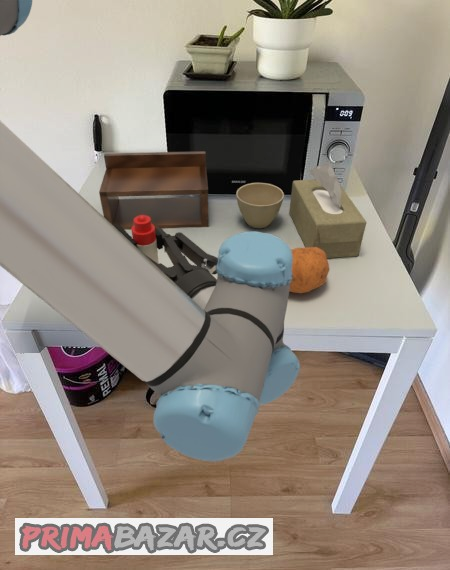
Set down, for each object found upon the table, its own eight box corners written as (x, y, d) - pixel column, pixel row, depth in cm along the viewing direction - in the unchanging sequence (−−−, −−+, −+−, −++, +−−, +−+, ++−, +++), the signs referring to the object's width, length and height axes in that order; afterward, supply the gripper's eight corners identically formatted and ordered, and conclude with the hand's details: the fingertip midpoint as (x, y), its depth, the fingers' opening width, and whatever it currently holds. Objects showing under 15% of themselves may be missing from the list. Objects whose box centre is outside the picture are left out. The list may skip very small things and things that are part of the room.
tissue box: (288, 212, 101) (296, 145, 91) (329, 209, 102) (341, 143, 92) (311, 260, 87) (323, 187, 77) (359, 257, 88) (377, 184, 78)
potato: (330, 303, 77) (337, 269, 73) (266, 301, 78) (269, 267, 73) (322, 270, 84) (328, 238, 80) (263, 269, 85) (266, 236, 80)
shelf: (106, 229, 95) (96, 178, 87) (112, 202, 104) (104, 153, 96) (208, 226, 96) (207, 175, 88) (206, 199, 105) (205, 151, 98)
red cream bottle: (136, 281, 73) (128, 222, 66) (138, 267, 76) (130, 209, 68) (159, 280, 73) (153, 221, 66) (160, 266, 76) (154, 208, 69)
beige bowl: (242, 208, 102) (243, 179, 98) (284, 215, 100) (288, 186, 96) (229, 230, 95) (230, 200, 90) (275, 238, 93) (278, 208, 88)
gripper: (151, 352, 58) (86, 262, 72) (253, 304, 65) (175, 231, 80) (145, 310, 53) (76, 222, 68) (256, 264, 60) (173, 194, 75)
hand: (130, 227), depth 74 cm, fingers closed on red cream bottle, 4 cm apart
